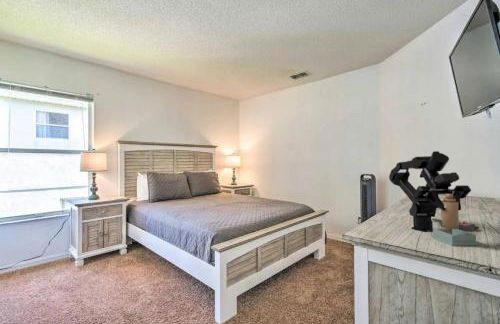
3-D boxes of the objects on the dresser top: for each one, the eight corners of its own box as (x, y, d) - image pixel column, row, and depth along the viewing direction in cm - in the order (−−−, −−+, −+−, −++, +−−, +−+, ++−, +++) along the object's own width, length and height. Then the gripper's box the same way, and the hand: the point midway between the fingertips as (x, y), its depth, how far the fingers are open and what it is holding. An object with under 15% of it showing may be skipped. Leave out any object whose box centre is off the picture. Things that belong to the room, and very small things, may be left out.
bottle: (441, 227, 94) (440, 194, 94) (442, 224, 98) (441, 192, 98) (458, 230, 91) (457, 195, 91) (459, 226, 95) (458, 193, 95)
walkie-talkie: (481, 230, 110) (433, 221, 129) (481, 220, 110) (433, 213, 129) (471, 233, 107) (423, 223, 125) (470, 223, 107) (422, 215, 125)
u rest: (431, 237, 101) (431, 228, 101) (455, 237, 101) (455, 228, 101) (452, 245, 91) (451, 235, 91) (478, 245, 91) (478, 235, 91)
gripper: (417, 166, 99) (435, 197, 89) (467, 165, 97) (491, 197, 86) (407, 183, 107) (422, 214, 96) (453, 183, 105) (474, 214, 94)
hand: (452, 209), depth 93 cm, fingers closed on bottle, 5 cm apart
